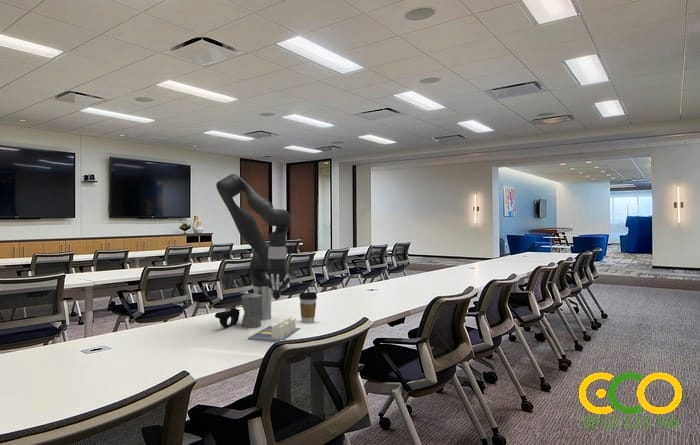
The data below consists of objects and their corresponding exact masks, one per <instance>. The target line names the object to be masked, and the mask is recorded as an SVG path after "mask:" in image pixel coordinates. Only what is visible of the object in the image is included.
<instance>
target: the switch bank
mask: <svg viewBox="0 0 700 445" xmlns="http://www.w3.org/2000/svg"><path fill="white" fill-rule="evenodd" d="M272 326H273V325H268V326H266V327H265V328H263V329H261V330H260V331H257V332H255V333H254V334H252V335H250V336H249V337H248V338H247V339H246V341H256V342H267V343H278V342H277V341H280V340H284V341H285V340H286V339H288V338H289V337H291V336H292V335H294V334H295V333H297V332H298V331H299V330H301V328H300V327H296V328H295V331H290V334H289V335H285V337H284V338H283V339H273V338H272Z"/></svg>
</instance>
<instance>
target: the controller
mask: <svg viewBox="0 0 700 445" xmlns="http://www.w3.org/2000/svg"><path fill="white" fill-rule="evenodd" d="M236 306H237V305H236V304H231V308H230V309H226V310H224V311H217V312H216V313H214V314H215V315H214V318H215V319H219V324H220V326H221V327H223V328H225V329H229V328H231V327H234V326H236V325H237V323H238V322H239V319H240V311H241V309H238V308H236ZM229 318H230V322H229V324H228V320H229Z"/></svg>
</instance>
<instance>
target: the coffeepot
mask: <svg viewBox="0 0 700 445" xmlns="http://www.w3.org/2000/svg"><path fill="white" fill-rule="evenodd" d="M249 291H250V293H246V294H243V295H241V303H242V309H243V315H242V320H241V327H242V328H244V329H257V328H260V327H262V321H261V319H260V314H259V310H260V308H261V302H262V295H260V294H255V292H254V289H252V288H251V289H250V290H249Z"/></svg>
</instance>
